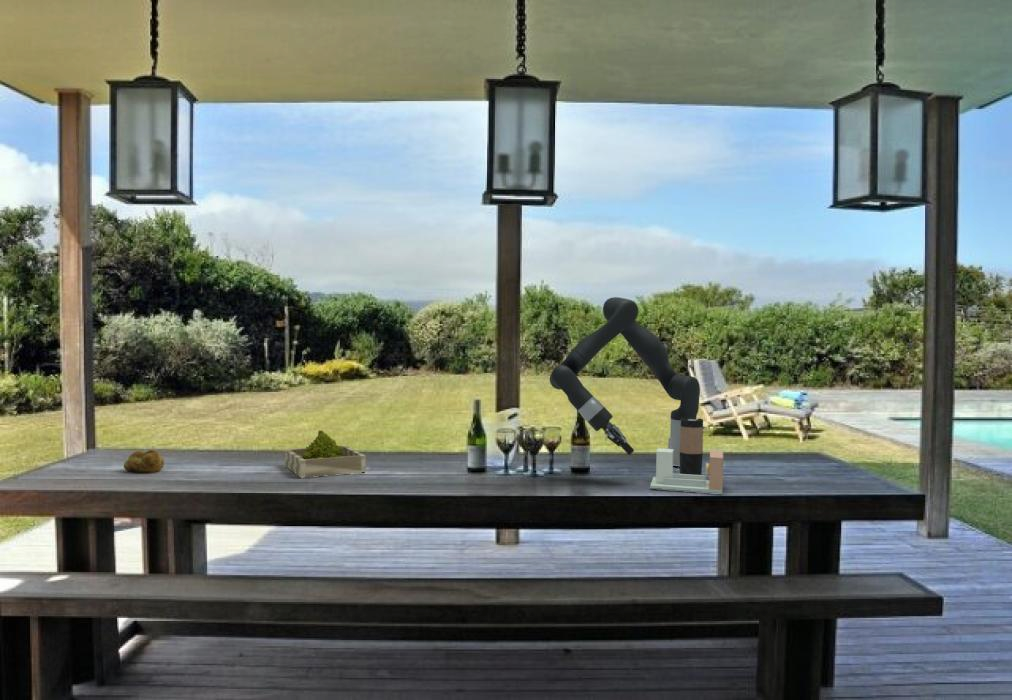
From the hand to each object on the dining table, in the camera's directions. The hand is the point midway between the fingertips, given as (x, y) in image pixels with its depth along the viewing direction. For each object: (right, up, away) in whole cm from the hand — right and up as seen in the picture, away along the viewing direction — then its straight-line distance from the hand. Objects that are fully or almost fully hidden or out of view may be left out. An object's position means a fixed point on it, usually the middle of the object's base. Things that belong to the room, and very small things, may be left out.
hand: (631, 452), depth 257 cm
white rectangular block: (+10, -9, -2) cm, 14 cm away
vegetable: (-105, -8, +18) cm, 107 cm away
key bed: (+17, -11, -4) cm, 20 cm away
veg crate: (-104, -8, +18) cm, 106 cm away
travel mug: (+22, -10, +13) cm, 27 cm away
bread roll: (-164, -8, +12) cm, 165 cm away
